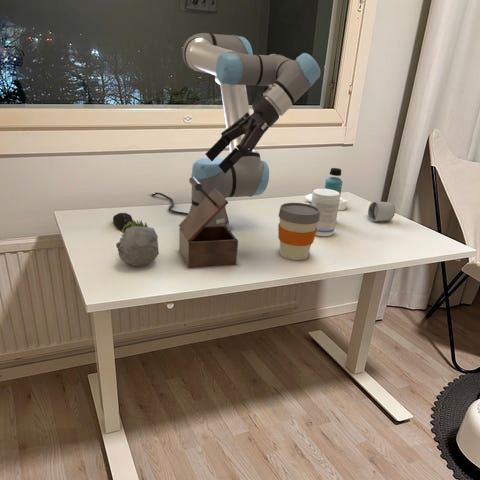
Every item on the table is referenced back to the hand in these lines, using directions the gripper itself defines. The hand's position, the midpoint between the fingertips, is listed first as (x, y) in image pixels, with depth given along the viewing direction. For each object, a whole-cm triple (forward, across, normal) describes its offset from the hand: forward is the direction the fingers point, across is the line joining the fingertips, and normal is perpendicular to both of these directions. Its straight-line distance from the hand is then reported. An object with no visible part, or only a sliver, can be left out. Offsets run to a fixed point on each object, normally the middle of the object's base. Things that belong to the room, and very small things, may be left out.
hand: (214, 163), depth 131 cm
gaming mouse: (+36, -30, +4) cm, 47 cm away
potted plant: (+36, -1, +4) cm, 36 cm away
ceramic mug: (-34, -27, +74) cm, 85 cm away
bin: (+21, 0, +19) cm, 28 cm away
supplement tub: (-12, -16, +52) cm, 56 cm away
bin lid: (+12, 0, +8) cm, 15 cm away
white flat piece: (-25, -48, +65) cm, 85 cm away
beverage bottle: (-18, -27, +58) cm, 66 cm away
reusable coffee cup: (+1, +2, +39) cm, 39 cm away
